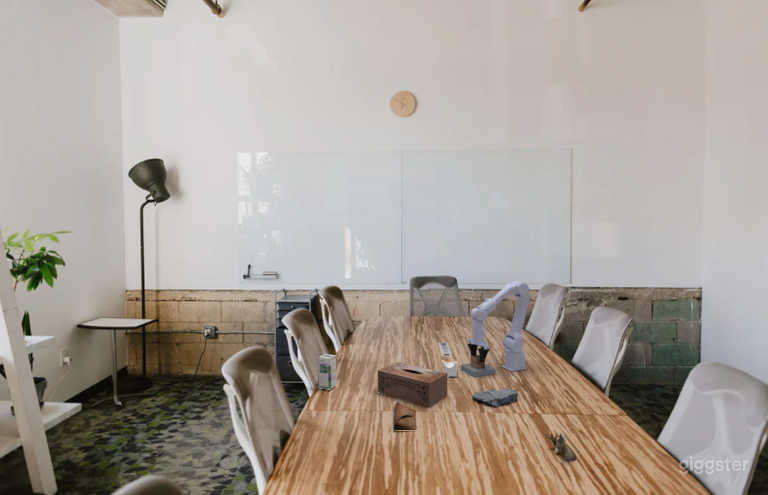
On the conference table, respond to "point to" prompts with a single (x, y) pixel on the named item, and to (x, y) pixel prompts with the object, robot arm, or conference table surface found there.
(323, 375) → the syrup box
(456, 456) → the conference table surface
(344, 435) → the conference table surface
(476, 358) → the walnut cube
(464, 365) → the base slab
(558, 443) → the grey-brown figure
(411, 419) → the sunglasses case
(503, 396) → the fossil
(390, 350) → the conference table surface
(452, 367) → the bracket
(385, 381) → the tissue box cover
